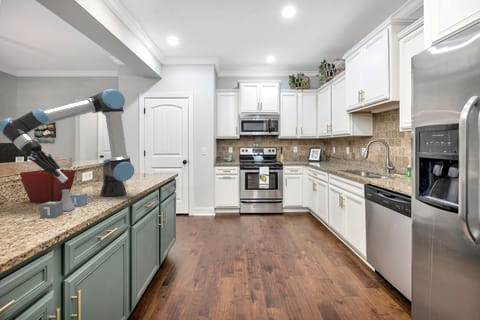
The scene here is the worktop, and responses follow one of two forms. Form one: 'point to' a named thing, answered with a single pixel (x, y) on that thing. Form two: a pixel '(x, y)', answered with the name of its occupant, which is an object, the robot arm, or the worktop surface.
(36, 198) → the plant pot
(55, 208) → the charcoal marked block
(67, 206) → the flask
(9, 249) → the worktop surface
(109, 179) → the robot arm
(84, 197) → the slate-blue marked block
